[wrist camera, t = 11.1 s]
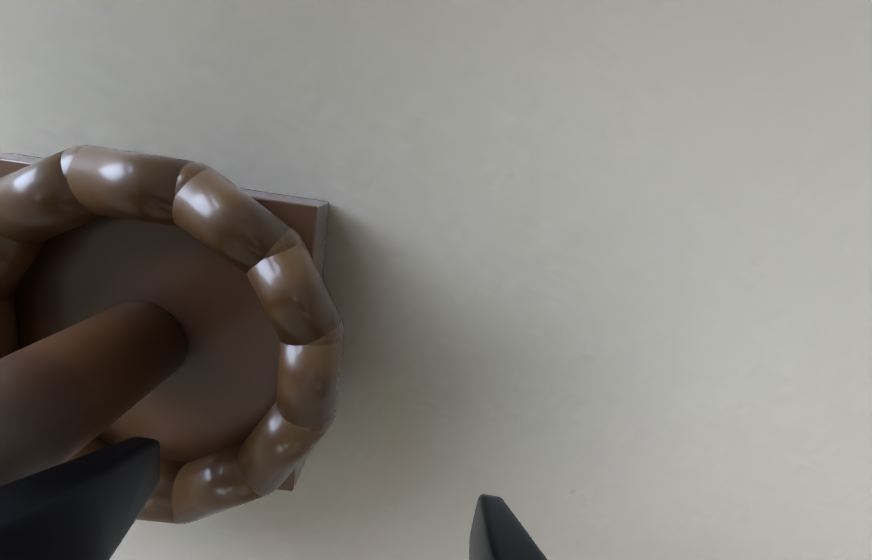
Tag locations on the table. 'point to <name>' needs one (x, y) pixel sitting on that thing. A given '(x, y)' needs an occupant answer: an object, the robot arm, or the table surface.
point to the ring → (238, 244)
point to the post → (140, 341)
